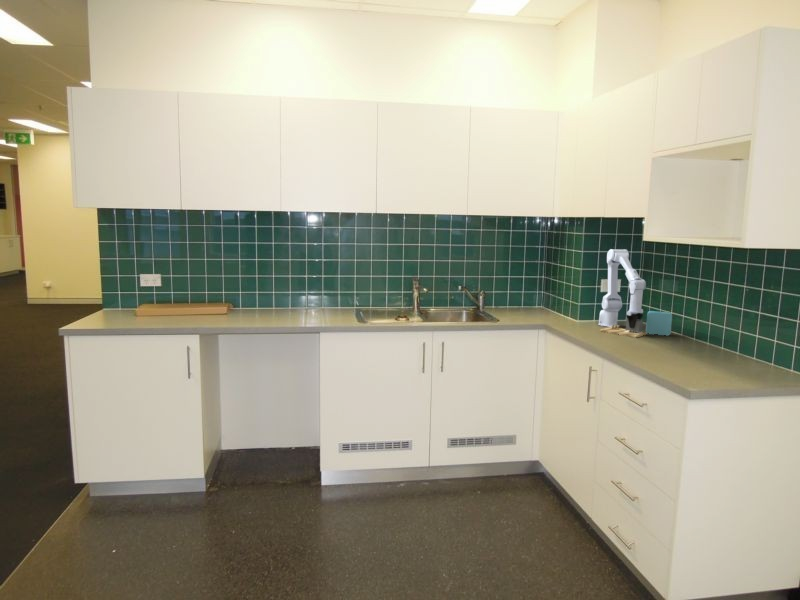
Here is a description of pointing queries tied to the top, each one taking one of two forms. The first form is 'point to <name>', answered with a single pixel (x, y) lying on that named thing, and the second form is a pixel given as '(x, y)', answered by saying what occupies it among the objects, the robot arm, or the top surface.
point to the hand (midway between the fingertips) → (633, 327)
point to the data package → (659, 323)
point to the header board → (622, 331)
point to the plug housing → (637, 326)
